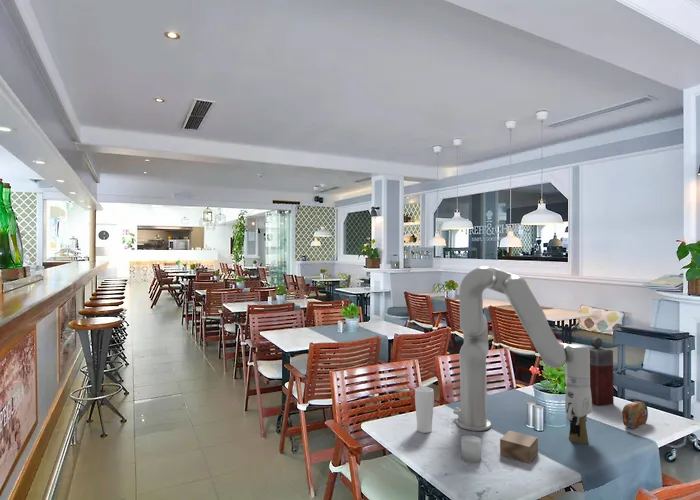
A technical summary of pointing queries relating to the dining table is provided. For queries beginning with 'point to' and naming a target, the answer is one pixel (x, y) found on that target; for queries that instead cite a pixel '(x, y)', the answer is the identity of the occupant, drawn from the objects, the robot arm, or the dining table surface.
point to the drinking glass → (424, 408)
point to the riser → (519, 446)
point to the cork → (583, 432)
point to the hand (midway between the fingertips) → (578, 433)
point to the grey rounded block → (471, 449)
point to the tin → (635, 414)
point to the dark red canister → (601, 373)
